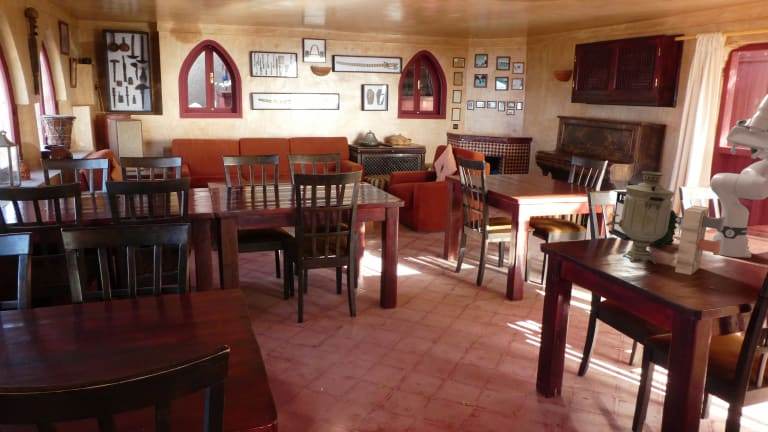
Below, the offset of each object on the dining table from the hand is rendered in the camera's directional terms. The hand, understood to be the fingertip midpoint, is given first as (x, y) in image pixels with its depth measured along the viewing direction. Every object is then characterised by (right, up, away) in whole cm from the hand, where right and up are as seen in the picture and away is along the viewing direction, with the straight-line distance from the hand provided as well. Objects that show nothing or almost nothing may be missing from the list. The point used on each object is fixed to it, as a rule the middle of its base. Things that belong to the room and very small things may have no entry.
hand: (742, 155), depth 246 cm
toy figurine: (-15, -42, +40) cm, 60 cm away
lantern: (-23, -38, +58) cm, 73 cm away
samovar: (-43, -46, +12) cm, 64 cm away
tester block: (-25, -50, -2) cm, 56 cm away
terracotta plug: (-21, -42, -8) cm, 47 cm away
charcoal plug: (-20, -32, -10) cm, 39 cm away
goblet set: (-2, -37, +67) cm, 76 cm away
